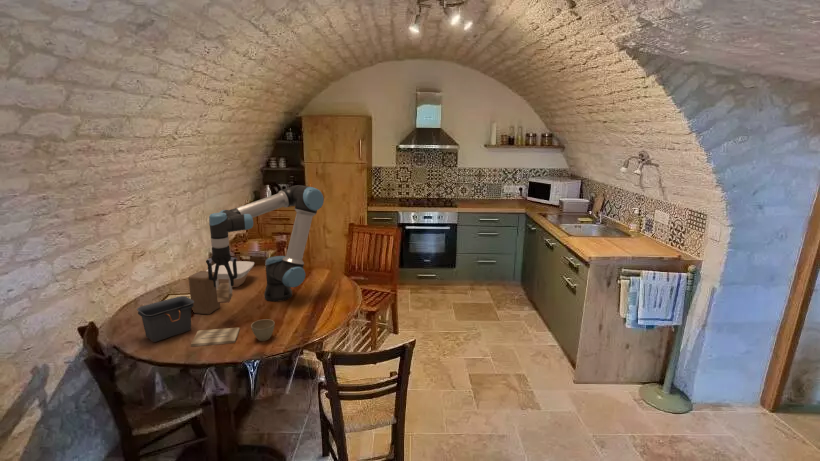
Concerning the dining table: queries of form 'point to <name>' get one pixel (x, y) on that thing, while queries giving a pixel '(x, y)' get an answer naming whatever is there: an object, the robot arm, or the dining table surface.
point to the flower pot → (263, 329)
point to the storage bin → (166, 317)
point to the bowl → (242, 272)
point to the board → (215, 336)
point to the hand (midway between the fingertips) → (224, 292)
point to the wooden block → (203, 293)
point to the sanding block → (223, 293)
